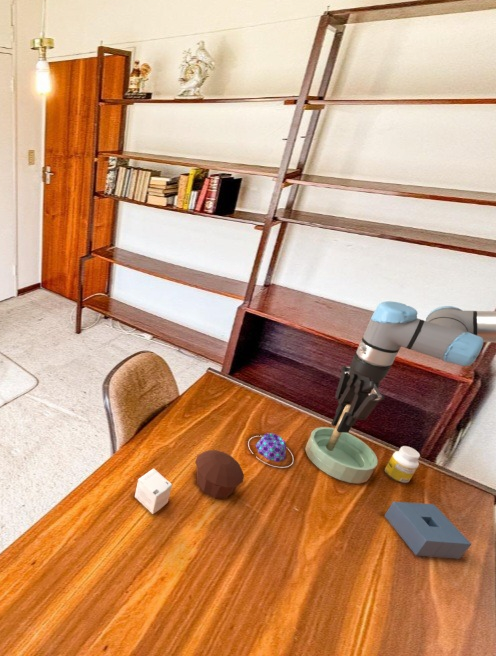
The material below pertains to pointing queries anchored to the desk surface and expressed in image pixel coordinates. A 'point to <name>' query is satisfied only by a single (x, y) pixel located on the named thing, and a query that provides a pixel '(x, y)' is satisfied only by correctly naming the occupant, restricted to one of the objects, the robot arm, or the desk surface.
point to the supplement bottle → (403, 464)
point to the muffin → (218, 473)
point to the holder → (427, 530)
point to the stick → (336, 432)
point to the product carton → (153, 491)
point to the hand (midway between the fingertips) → (339, 428)
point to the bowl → (341, 456)
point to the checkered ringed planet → (272, 448)
